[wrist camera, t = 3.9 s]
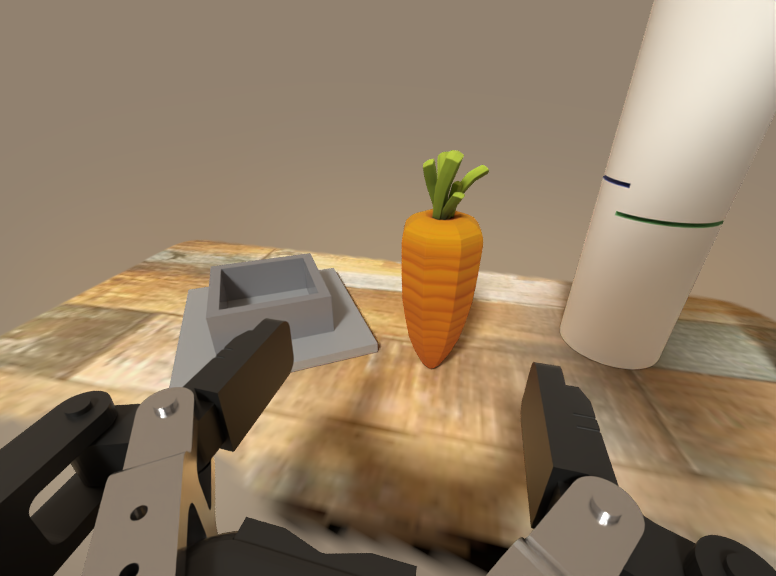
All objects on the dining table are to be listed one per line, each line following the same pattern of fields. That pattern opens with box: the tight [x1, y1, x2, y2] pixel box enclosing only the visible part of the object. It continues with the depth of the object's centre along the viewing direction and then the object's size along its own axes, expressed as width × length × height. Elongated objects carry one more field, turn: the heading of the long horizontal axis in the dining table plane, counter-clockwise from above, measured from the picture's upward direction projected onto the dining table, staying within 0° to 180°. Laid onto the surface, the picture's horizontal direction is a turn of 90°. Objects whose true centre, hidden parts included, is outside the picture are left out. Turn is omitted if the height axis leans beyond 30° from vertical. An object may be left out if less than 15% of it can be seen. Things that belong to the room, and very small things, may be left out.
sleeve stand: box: [169, 253, 378, 388], centre depth 30 cm, size 14×14×4 cm
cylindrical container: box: [560, 0, 776, 369], centre depth 23 cm, size 7×7×25 cm
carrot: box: [402, 150, 489, 369], centre depth 23 cm, size 5×5×15 cm
